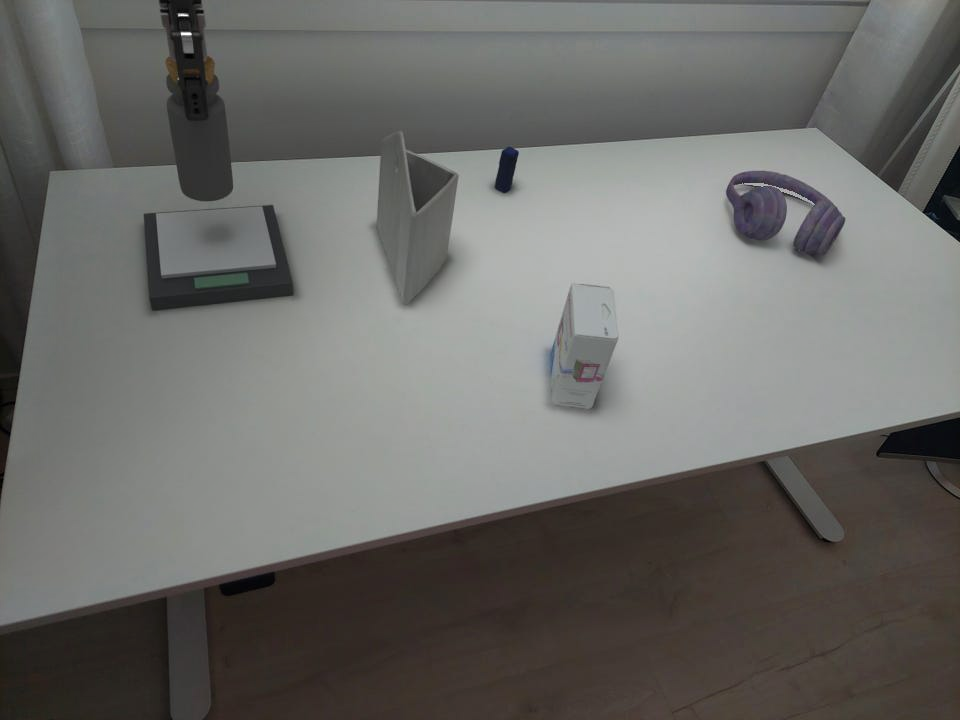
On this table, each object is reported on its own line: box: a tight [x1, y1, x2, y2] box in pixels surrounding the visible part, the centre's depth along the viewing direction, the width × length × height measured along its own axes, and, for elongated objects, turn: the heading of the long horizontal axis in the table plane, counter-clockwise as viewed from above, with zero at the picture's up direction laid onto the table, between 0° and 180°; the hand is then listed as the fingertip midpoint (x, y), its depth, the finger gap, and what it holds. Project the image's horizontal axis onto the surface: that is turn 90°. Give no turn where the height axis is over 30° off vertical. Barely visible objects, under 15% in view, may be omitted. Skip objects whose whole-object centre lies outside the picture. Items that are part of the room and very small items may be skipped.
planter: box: [375, 130, 460, 306], centre depth 89 cm, size 16×8×19 cm, turn 18°
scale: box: [143, 204, 294, 312], centre depth 89 cm, size 16×16×3 cm
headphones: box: [725, 170, 846, 256], centre depth 115 cm, size 18×8×20 cm
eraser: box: [494, 146, 520, 194], centre depth 109 cm, size 2×2×7 cm
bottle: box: [165, 55, 234, 202], centre depth 78 cm, size 6×6×15 cm
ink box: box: [549, 282, 619, 410], centre depth 81 cm, size 9×5×12 cm, turn 178°
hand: (194, 102), depth 76 cm, fingers closed on bottle, 5 cm apart
